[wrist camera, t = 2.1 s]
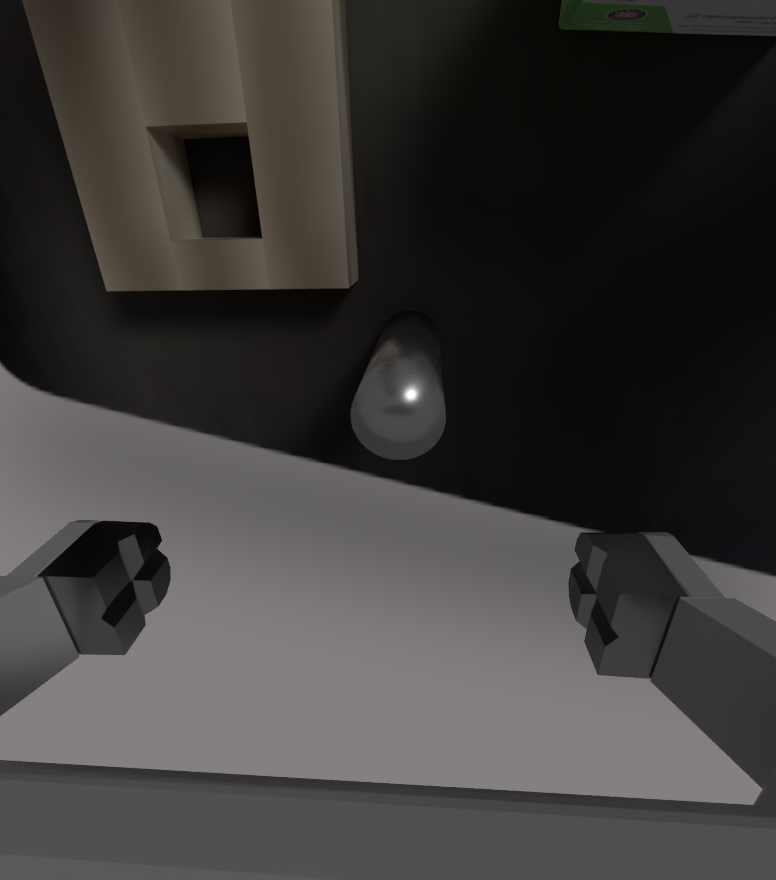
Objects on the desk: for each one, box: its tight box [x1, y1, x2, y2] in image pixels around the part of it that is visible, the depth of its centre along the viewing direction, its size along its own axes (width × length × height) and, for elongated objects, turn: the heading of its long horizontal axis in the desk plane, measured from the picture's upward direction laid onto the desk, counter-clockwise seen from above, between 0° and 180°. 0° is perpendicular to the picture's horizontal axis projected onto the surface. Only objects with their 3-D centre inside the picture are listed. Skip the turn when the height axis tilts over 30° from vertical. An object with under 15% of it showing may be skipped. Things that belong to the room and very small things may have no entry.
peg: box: [351, 311, 446, 460], centre depth 18 cm, size 3×3×10 cm
